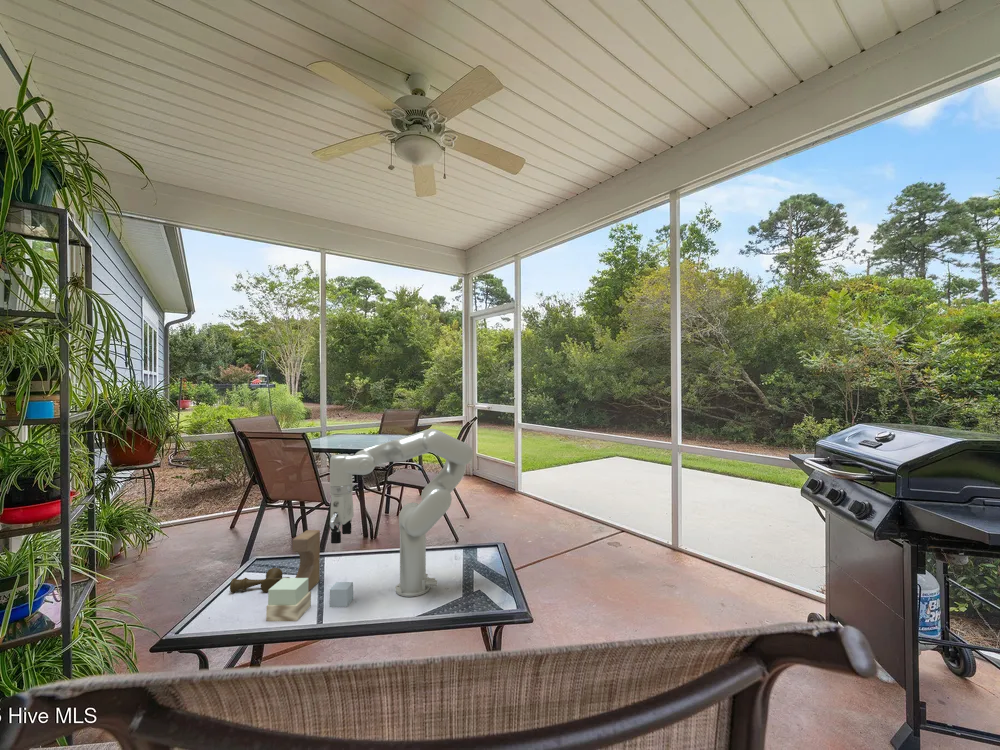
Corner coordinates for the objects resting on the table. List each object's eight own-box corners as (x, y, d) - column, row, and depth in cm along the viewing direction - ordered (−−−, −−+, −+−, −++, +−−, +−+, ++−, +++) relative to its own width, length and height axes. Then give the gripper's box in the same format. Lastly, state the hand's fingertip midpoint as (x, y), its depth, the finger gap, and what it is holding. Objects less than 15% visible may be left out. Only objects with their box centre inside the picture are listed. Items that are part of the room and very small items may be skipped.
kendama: (235, 588, 165) (292, 580, 170) (226, 600, 156) (287, 591, 161) (235, 572, 165) (292, 564, 170) (226, 583, 156) (286, 575, 161)
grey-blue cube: (353, 599, 154) (353, 581, 154) (346, 607, 148) (347, 589, 148) (336, 599, 154) (336, 582, 154) (329, 607, 148) (329, 589, 148)
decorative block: (306, 594, 157) (306, 539, 158) (290, 594, 158) (291, 539, 159) (320, 581, 169) (320, 529, 169) (306, 581, 169) (306, 529, 170)
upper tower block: (308, 592, 149) (308, 577, 149) (295, 605, 140) (295, 589, 140) (282, 592, 149) (282, 577, 149) (268, 605, 140) (268, 589, 140)
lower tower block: (310, 606, 149) (311, 591, 149) (297, 621, 139) (297, 606, 139) (282, 606, 149) (282, 592, 149) (266, 622, 139) (266, 606, 139)
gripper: (342, 495, 144) (342, 547, 144) (360, 484, 162) (360, 530, 161) (320, 495, 144) (320, 547, 144) (340, 484, 162) (340, 530, 161)
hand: (341, 538), depth 152 cm, fingers open, 9 cm apart
